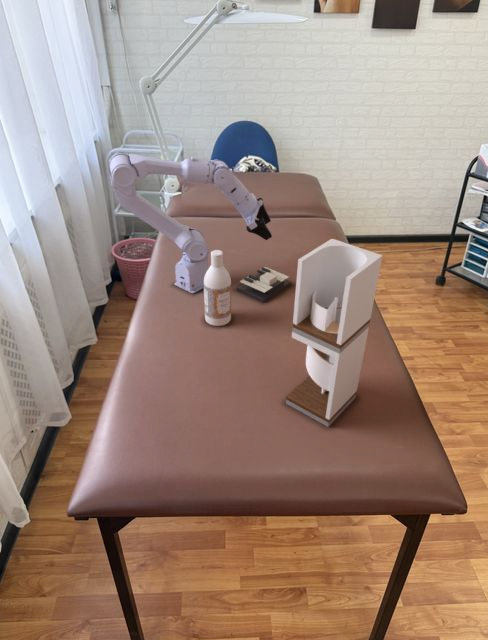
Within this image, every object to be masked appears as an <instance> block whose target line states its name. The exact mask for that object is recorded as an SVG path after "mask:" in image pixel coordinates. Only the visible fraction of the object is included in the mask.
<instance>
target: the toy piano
mask: <svg viewBox="0 0 488 640" xmlns="http://www.w3.org/2000/svg"><path fill="white" fill-rule="evenodd" d="M262 275H263V274H260V273H258V274H256V275H255V277H257V278H258V279H257V281H260V276H262ZM291 283H292V281H290V280H288V279H285V280H284V281H282V282H280V281H278V280H277V282H276V283H274V284H272V285H271V287H273V288H271V289H270V290H268V289H267V290H268V291H266V292H265V293H264V292H262V291H259V290H257V289H255V288H253V287H250V286H248V285H246V284H244V283H241V284H239V285H238V286H236V291H237V292H239V293H240V294H243V295H246V296H247V297H249V298H252V299H253V300H256V301H258V302H259V303H263V304H264V303H266V302H268V301H269V300H270V299H272V298H273V297H275V296H277V295H278V294H280V293H281V292H282V291H284V290H286V289H287V288H289V287H290V286H291ZM258 286H259V285H258Z"/></svg>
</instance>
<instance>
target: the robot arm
mask: <svg viewBox="0 0 488 640" xmlns="http://www.w3.org/2000/svg"><path fill="white" fill-rule="evenodd" d="M108 168H109V169H108V171H109V172H108V173H109V177H110V186H111V188H112V190H113V193H114V194H115V197H116V199H117V201H118V204H119V205H120V206H121V207H122V208H123V209H125V210H126V211H128V212H129V213H131V215H134V216H135V217H136V218H138V219H140V220H141V221H143V222H144V223H145V224H148V225H149V226H150V227H152V228H154V229H155V230H156V231H158V232H159V233H161V234H162V235H164V236H166V237H167V239H170V240H171V241H173V242H174V243H175V244H176V246H178V248H179V249H180V250H181V251H183V252H182V257H181V259H180V260H179V261H178V262H176V263H175V266H174V272H175V282H174V283H173V285H174V286H176V287H178V288H180V289H182V290H184V291H185V292H188V293H190V294H191V295H192V294H195V293H198V292H199V291H201V290H204V277H205V274H206V272H207V270H208V269H209V252H210V250H209V249H210V248H209V246H208V244H207V243H206V240H205V239H204V236H203V233H202V231H200V230H199V229H197V228H195V227H190V226H188V225H186V224H182V223H180V222H179V221H177V220H176V219H174V218H173V217H171V216H170V215H169V214H167V213H166V212H164V211H163V210H162V209H160V208H159V207H157V206H156V205H154V203H151V202H150V201H149V200H147V199H146V198H145V197H143V196H142V195H140V194H139V193H137V190H136V185H137V181H138V179H139V181H143V180H144V179H145V178H146V177H148V176H149V175H163V176H164V175H165V176H178V177H181V179H182V180H183V181H184V182H188V183H196V184H197V183H198V184H205V185H206V184H208V185H209V184H213V187H215V188H217V189H219V190H220V192H221V193H222V194H223V196H224V197H225V198H226V199H227V201H229V202H230V204H231V205H232V206H233V207H234V208H235V209H236V211H238V212H239V214H240V215H241V217H242V218H243V219H244V221H245V223H246V231H247V232H248V233H251V234H255V235H257V236H258V237H260V238H262V239H263V240H265V241H268V240H270V239H271V238H272V237H273V235H272V232H271V231H270V230H269V228H268V227H267V225H268V224H269V223H271V217H270V215H269V214H268V211H267V210H266V207H265V205H264V199H263V198H262V197H259V198H257V197H256V195H255V194H254V193H253V192H250V191H249V190H248V189H247V187H246V186H245V185H244V184H243V183H242V182H241V180H240V179H239V178H237V176H236V175H235V174H234V173H233V171H232V169H230V168H229V166H228V164H226V162H224V161H223V160H220V159H218V158H217V159H210V160H203V159H198V158H197V157H196V156H190V158H185V159H184V160H182V161H175V160H174V161H172V160H169V159H162V158H157V157H151V156H145V155H141V154H135V153H129V154H127V153H124V152H120V153H115V154H114V155H112V156H111V158H110V159H109V163H108Z"/></svg>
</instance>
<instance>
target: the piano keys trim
mask: <svg viewBox="0 0 488 640" xmlns="http://www.w3.org/2000/svg"><path fill="white" fill-rule="evenodd" d="M256 272H257V273H258V274H265V273H267V272H269V273H271V274H274V275H276V276H277V280H278V281H280V282H282V281H284V280H288V279H289V278H290V276H289V275H286V274H284V273H281V272H279V271H276V270H274V269H271V268H269V267H266V266H263V267H261V268H260V269H257V271H256ZM255 276H256V275H255ZM255 276H254V275H252V274H249V275H248V276H246V277H244V278H243V279H241V280H240V281H239V283H241V284H243V283H244V284H246V285H248V286H250V287H253V288H255V289H257V290H259V291H262V292H264V293H265V292H266V291H268V290H270V289H271V288H273V287H271V286H269V285H267V284H264V283H262V282H260V281H257V279H258V278H257V277H255ZM258 285H259V286H258ZM267 289H268V290H267Z"/></svg>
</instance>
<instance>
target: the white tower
mask: <svg viewBox="0 0 488 640" xmlns="http://www.w3.org/2000/svg"><path fill="white" fill-rule="evenodd" d="M297 259H298V260H297V272H296V279H295V280H296V281H295V294H294V306H293V317H292V330H291V338H292V339H294V340H296V341H298V342H301V343H302V344H305V345H306V354H305V367H306V371H307V373H308V377H306V378H305V379H304V380H303V381H302V382H301V383H300V384H299V385H297V386H296V387H295V388H294V389H293V390H292V391H290V393H289V394H288V395H287V396H286V399H285V404H286V405H288V406H289V407H292V408H293V409H295V410H297V411H299V412H300V413H302V414H304V415H305V416H308V417H309V418H311V419H313V420H315V421H316V422H318V423H321V424H322V425H323V426H325V427H327V428H329V427H330V426H331V425H332V424H333V423H334V422H335V421H336V419H338V417H339V416H340V415H341V414H342V413H343V412H344V411H345V410H346V408H348V407H349V405H351V404H352V402H353V401H354V400H355V399H356V398H357V392H358V387H359V381H360V377H361V371H362V367H363V361H364V355H365V351H366V345H367V339H368V334H369V329H370V324H371V318H372V313H373V308H374V303H375V302H374V301H375V298H376V293H377V286H378V282H379V277H380V272H381V265H382V260H383V255H382V254H379V253H376V252H374V251H371V250H368V249H366V248H362V247H358V246H356V245H353V244H350V243H347V242H343V241H341V240H338V239H335V238H331V239H329V240H327V241H326V242H324V243H322V244H320V245H319V246H317V247H316V248H314V249H313V250H311V251H310V252H308V253H306V254H304V255H303V256H301V257H299V258H297Z"/></svg>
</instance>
